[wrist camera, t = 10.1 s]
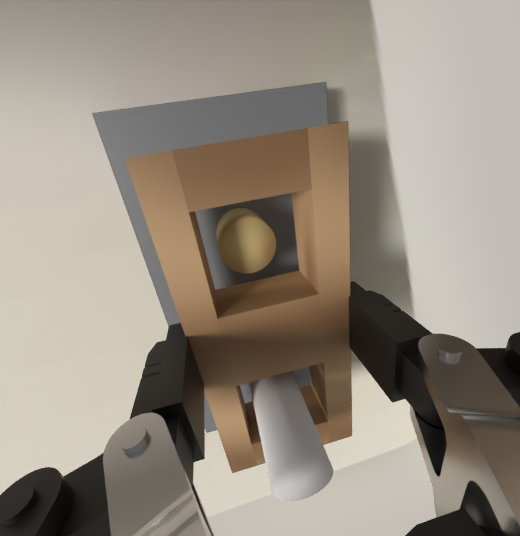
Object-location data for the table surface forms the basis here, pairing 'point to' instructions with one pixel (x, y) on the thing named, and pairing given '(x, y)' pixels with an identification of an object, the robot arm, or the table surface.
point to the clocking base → (205, 132)
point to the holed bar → (264, 290)
